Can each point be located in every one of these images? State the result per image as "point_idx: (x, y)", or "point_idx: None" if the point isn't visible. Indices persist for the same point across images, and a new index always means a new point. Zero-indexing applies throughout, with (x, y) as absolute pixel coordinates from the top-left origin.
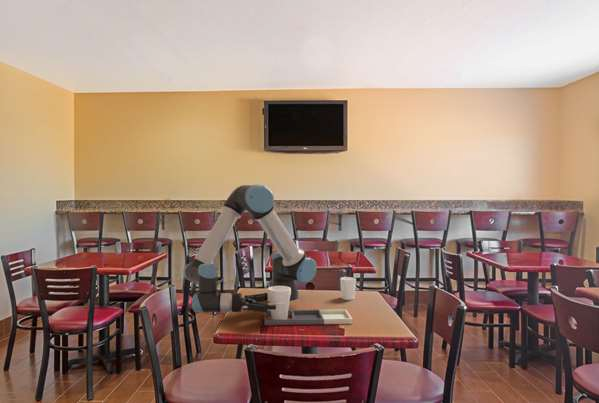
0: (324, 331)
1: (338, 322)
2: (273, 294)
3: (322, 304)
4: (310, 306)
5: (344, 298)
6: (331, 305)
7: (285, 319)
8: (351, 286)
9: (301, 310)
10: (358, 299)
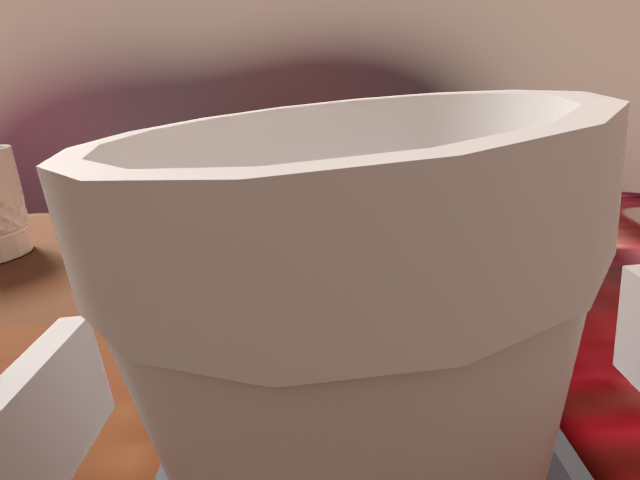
0: (609, 295)
1: None
2: (609, 219)
3: (16, 317)
4: (9, 363)
5: (4, 256)
6: (71, 290)
7: (578, 473)
8: (17, 180)
9: None
10: (44, 237)
